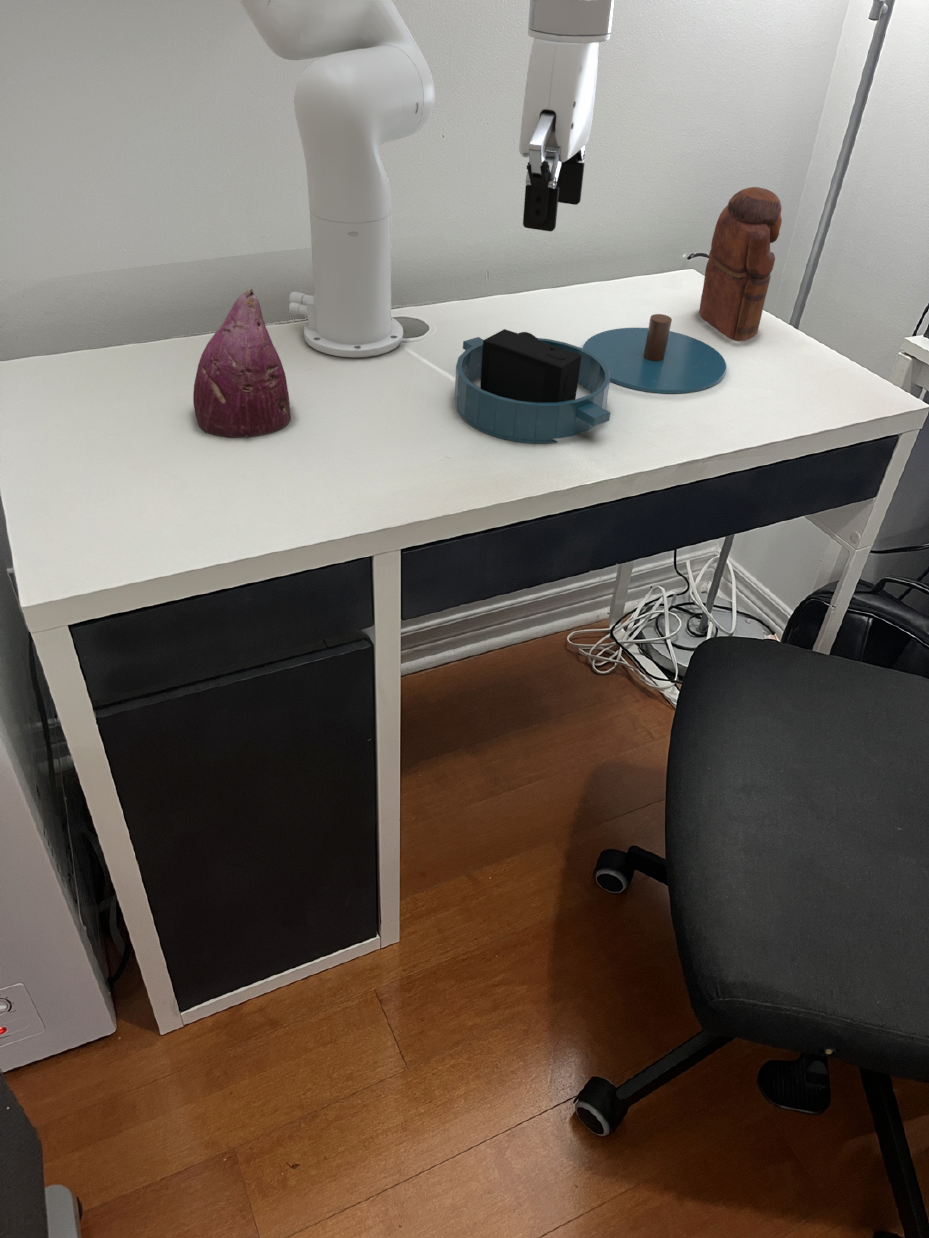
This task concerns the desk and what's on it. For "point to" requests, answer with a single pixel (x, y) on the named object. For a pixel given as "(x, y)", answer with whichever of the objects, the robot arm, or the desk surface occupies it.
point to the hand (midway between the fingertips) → (552, 215)
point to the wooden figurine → (741, 263)
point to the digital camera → (528, 369)
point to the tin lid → (657, 358)
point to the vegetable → (241, 377)
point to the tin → (530, 417)
